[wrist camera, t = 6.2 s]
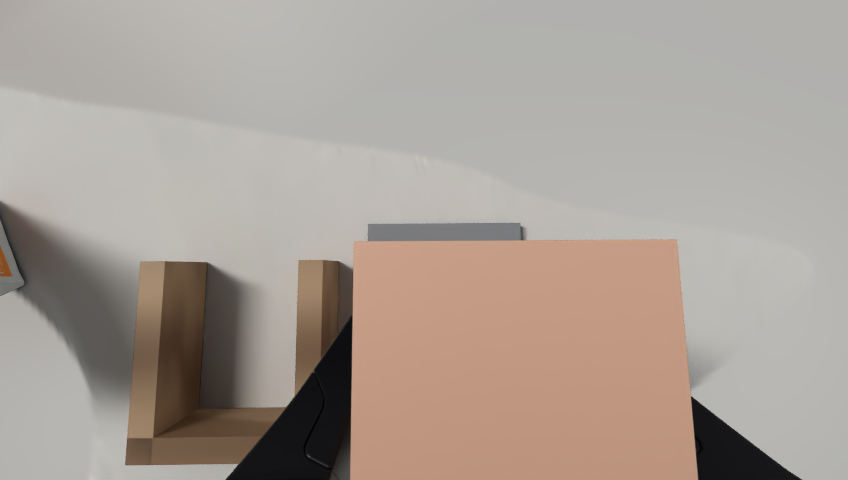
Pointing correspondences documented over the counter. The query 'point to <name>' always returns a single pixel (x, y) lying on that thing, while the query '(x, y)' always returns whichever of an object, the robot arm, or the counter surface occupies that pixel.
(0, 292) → the skincare box
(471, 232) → the mat
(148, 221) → the counter surface
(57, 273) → the counter surface
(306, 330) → the u-shaped frame
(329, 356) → the robot arm
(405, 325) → the block
